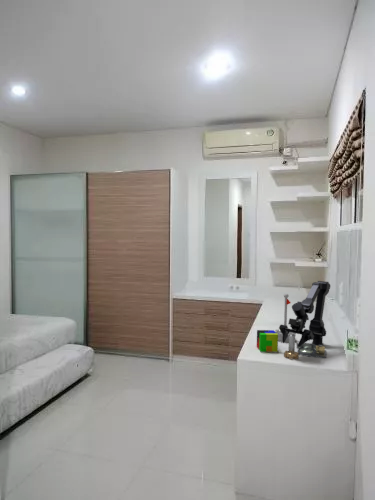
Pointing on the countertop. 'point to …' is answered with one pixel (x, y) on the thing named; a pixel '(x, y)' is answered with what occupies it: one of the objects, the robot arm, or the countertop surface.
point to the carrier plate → (312, 350)
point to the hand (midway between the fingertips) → (290, 344)
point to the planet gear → (291, 349)
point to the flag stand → (280, 335)
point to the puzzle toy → (267, 341)
